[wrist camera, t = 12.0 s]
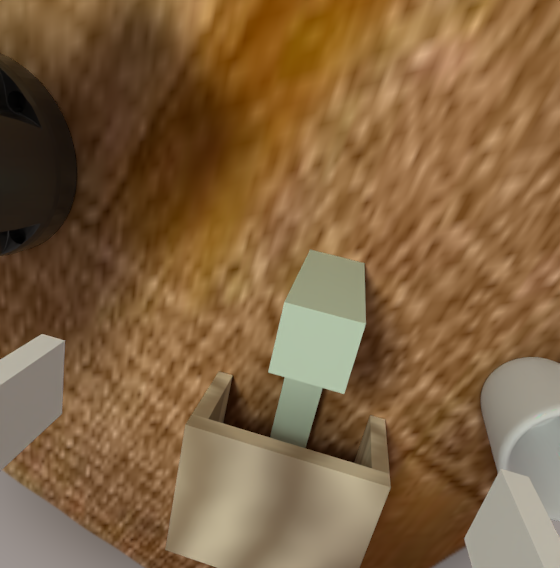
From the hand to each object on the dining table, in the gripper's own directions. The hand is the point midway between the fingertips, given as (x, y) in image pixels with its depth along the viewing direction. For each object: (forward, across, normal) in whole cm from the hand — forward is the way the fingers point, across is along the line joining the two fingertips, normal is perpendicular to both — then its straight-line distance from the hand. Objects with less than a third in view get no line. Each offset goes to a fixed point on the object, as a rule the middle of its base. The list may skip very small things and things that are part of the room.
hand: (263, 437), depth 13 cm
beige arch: (+19, +1, -17) cm, 26 cm away
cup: (+20, +17, -4) cm, 26 cm away
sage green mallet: (+20, +1, -10) cm, 22 cm away
